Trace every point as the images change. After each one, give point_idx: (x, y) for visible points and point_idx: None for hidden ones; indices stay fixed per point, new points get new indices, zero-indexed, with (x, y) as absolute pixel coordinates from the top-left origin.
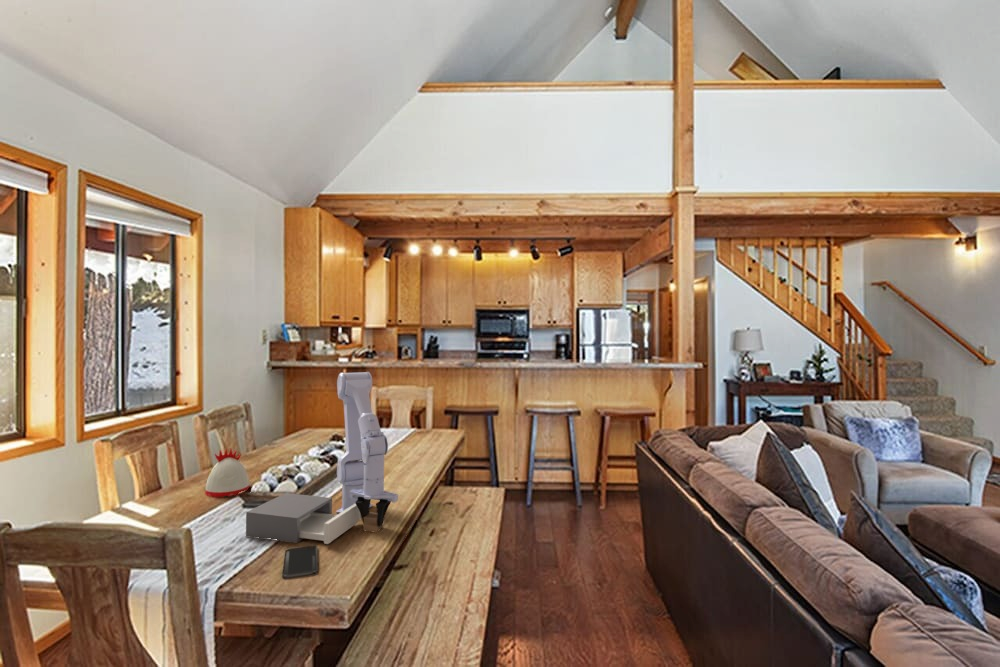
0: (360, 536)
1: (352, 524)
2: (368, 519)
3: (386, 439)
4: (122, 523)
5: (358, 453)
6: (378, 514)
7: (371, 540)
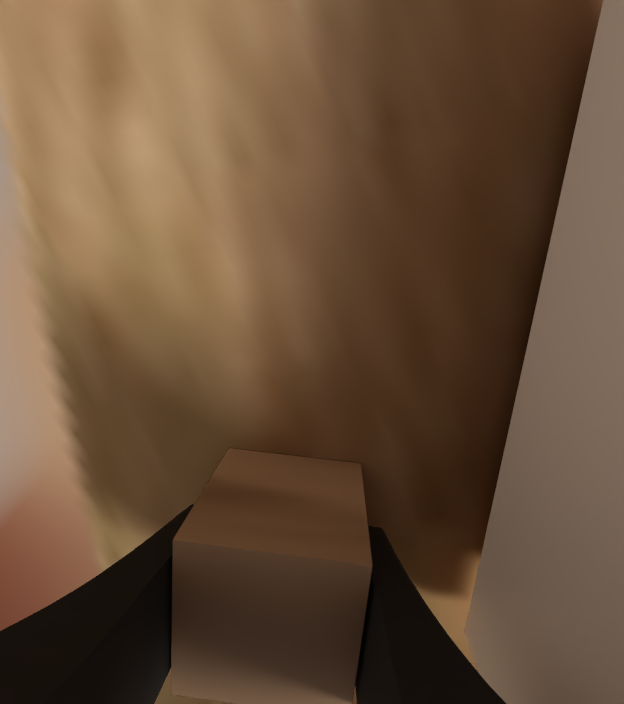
0: (337, 339)
1: (501, 509)
2: (297, 538)
3: None
4: None
5: None
6: (119, 596)
7: (190, 267)
